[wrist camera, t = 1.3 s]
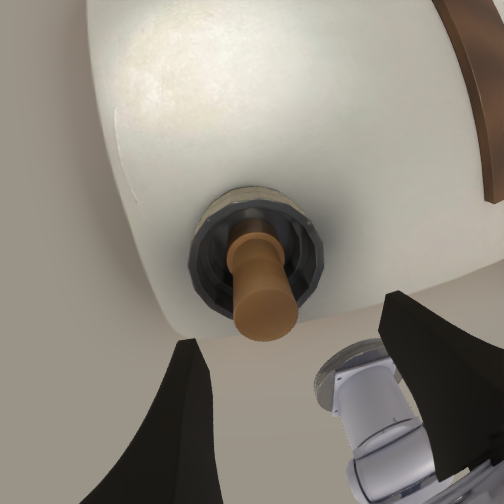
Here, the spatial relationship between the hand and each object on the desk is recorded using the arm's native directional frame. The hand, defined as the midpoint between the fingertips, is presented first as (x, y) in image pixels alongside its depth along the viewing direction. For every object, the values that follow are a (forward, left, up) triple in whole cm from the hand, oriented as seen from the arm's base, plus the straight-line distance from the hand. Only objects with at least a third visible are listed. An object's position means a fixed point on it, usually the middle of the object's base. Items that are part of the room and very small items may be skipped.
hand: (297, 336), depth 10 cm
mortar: (0, +1, -12) cm, 12 cm away
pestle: (0, +1, -11) cm, 11 cm away
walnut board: (+21, -25, -12) cm, 34 cm away
